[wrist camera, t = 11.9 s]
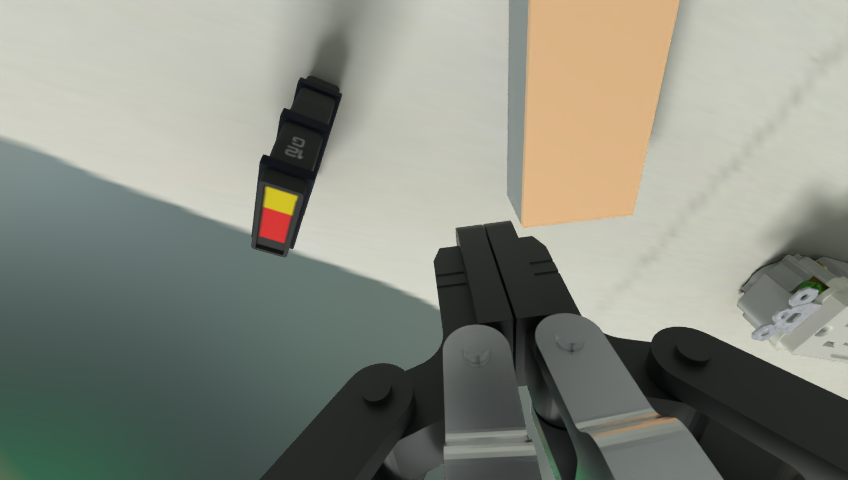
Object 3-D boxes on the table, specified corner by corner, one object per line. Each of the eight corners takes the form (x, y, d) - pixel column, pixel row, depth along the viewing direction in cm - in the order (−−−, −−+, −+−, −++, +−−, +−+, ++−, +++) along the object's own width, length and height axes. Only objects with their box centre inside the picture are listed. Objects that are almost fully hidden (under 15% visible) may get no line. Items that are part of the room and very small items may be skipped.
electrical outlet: (757, 232, 52) (830, 286, 44) (897, 270, 60) (980, 321, 52) (695, 299, 58) (749, 357, 50) (830, 325, 66) (895, 378, 58)
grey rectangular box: (509, -37, 35) (529, -35, 30) (641, -54, 34) (683, -55, 30) (507, 194, 47) (520, 223, 42) (603, 182, 47) (628, 209, 42)
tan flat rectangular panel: (529, -35, 30) (532, -34, 29) (685, -55, 29) (691, -55, 29) (520, 223, 42) (522, 227, 42) (629, 210, 42) (632, 215, 41)
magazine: (353, 58, 36) (309, 193, 29) (324, 151, 47) (287, 268, 39) (311, 40, 35) (254, 175, 28) (291, 139, 46) (246, 256, 38)
